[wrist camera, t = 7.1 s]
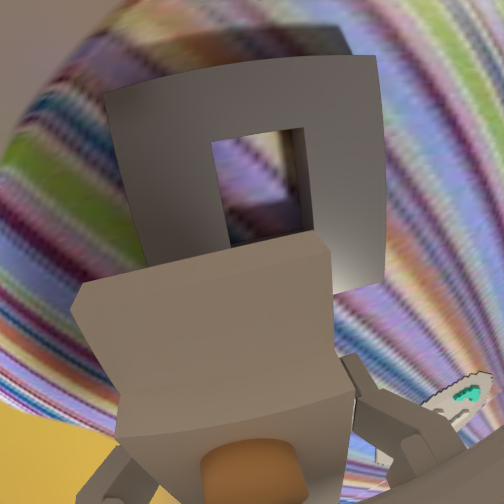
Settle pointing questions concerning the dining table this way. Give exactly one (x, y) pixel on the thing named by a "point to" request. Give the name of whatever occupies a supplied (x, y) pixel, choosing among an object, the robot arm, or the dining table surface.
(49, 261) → the dining table surface
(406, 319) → the dining table surface
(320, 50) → the dining table surface
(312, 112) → the grey board with hole
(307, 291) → the servo
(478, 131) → the dining table surface
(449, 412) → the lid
